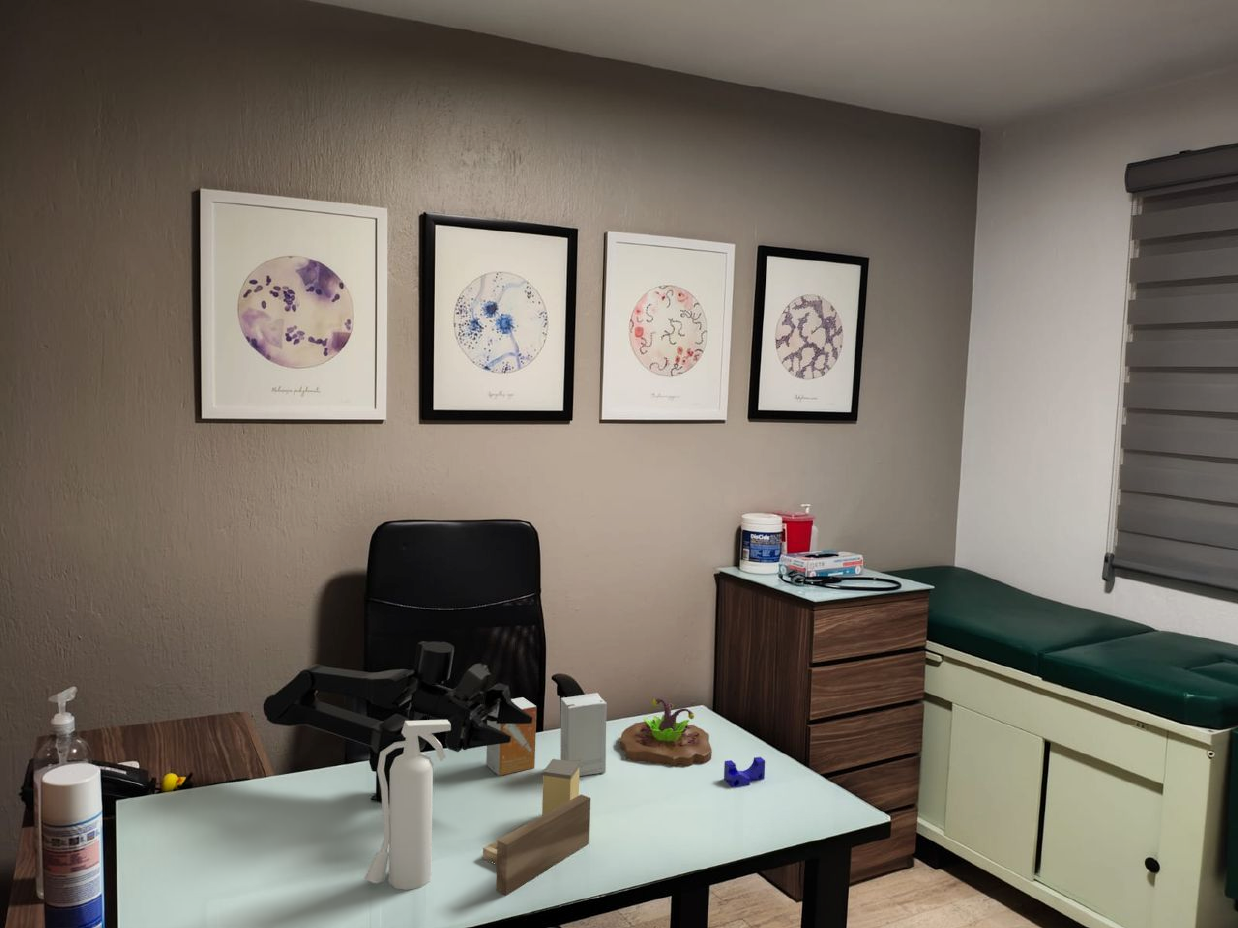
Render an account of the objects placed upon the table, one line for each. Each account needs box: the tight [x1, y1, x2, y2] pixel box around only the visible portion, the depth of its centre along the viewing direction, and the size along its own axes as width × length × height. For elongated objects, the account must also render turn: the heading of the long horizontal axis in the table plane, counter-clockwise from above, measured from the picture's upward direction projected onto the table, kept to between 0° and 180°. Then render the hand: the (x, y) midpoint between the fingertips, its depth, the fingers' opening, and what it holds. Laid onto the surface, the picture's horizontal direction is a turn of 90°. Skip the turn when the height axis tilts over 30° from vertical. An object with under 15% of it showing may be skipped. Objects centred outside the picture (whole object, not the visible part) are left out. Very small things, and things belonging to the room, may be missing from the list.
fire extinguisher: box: [364, 719, 451, 891], centre depth 134 cm, size 7×12×25 cm, turn 116°
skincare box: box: [559, 692, 608, 777], centre depth 175 cm, size 8×6×15 cm
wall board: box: [482, 793, 591, 896], centre depth 142 cm, size 10×20×8 cm, turn 143°
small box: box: [486, 696, 537, 777], centre depth 176 cm, size 8×6×13 cm
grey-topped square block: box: [541, 758, 580, 816], centre depth 154 cm, size 5×6×10 cm
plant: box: [619, 698, 713, 768], centre depth 189 cm, size 20×20×11 cm
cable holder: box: [723, 756, 766, 788], centre depth 173 cm, size 8×4×4 cm, turn 109°
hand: (521, 729), depth 153 cm, fingers open, 9 cm apart
